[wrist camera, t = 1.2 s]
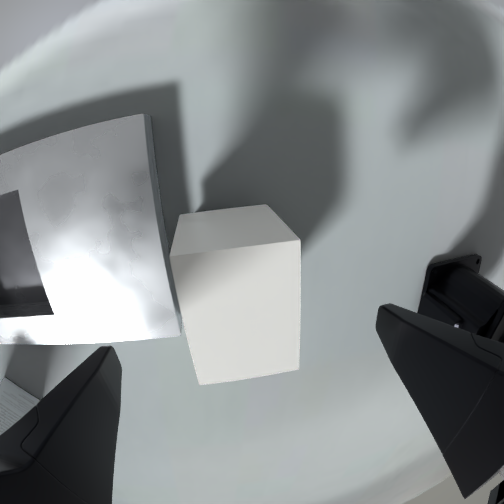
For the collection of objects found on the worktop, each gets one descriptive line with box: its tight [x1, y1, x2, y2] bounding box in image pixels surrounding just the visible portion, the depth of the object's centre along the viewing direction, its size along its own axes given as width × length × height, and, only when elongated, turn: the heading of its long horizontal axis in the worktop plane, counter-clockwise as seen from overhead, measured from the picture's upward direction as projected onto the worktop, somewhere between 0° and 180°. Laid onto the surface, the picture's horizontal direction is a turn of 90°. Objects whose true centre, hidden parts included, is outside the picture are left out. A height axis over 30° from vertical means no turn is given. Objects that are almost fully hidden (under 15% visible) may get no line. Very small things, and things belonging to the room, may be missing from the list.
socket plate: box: [0, 113, 182, 344], centre depth 13 cm, size 16×11×2 cm
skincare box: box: [0, 378, 40, 435], centre depth 12 cm, size 6×4×12 cm
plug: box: [169, 204, 301, 385], centre depth 13 cm, size 4×6×6 cm
